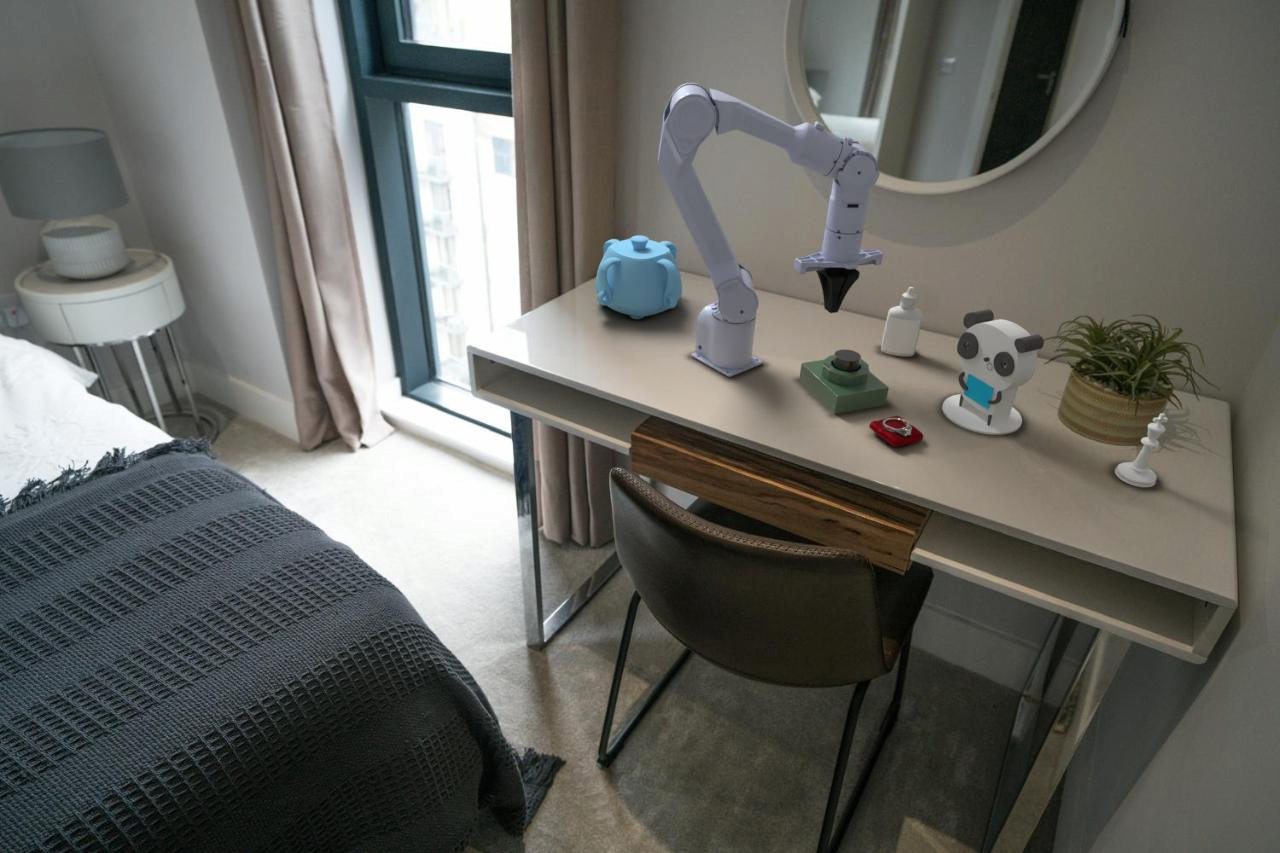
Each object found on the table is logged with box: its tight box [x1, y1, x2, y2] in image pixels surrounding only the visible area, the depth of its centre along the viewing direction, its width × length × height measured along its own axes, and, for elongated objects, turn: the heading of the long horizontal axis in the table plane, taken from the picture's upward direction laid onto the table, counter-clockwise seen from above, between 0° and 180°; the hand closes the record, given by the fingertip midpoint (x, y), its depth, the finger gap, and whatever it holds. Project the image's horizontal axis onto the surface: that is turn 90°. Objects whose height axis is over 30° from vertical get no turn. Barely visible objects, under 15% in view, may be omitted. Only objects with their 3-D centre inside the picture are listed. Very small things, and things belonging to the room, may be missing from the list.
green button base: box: [798, 354, 890, 415], centre depth 123 cm, size 11×9×5 cm
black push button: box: [833, 348, 862, 372], centre depth 121 cm, size 4×4×2 cm
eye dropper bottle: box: [880, 286, 923, 358], centre depth 133 cm, size 4×6×12 cm
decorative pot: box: [594, 235, 683, 320], centre depth 147 cm, size 16×16×14 cm
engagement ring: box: [868, 415, 924, 448], centre depth 113 cm, size 6×6×3 cm
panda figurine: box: [941, 308, 1045, 436], centre depth 116 cm, size 12×11×15 cm
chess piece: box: [1114, 412, 1169, 488], centre depth 104 cm, size 5×5×10 cm
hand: (831, 310), depth 127 cm, fingers closed
